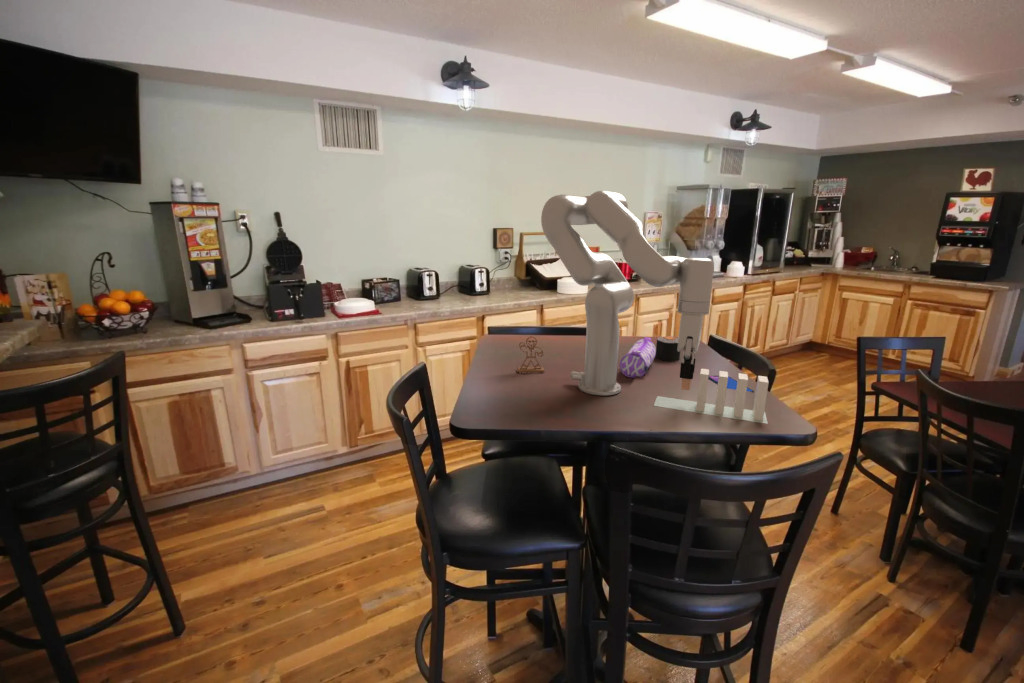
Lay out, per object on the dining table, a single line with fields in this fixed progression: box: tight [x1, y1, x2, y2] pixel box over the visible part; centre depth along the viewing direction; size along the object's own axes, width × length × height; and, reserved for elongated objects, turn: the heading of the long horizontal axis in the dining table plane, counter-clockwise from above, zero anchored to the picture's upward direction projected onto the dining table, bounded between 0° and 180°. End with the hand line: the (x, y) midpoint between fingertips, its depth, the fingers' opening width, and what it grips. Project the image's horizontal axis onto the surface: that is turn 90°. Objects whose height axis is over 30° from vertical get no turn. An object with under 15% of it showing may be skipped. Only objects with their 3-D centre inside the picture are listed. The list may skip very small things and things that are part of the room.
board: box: [653, 395, 769, 425], centre depth 122 cm, size 27×8×1 cm, turn 66°
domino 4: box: [733, 372, 749, 418], centre depth 118 cm, size 2×5×10 cm, turn 156°
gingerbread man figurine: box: [516, 336, 546, 373], centre depth 154 cm, size 9×4×12 cm, turn 95°
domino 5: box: [752, 375, 770, 421], centre depth 117 cm, size 2×5×10 cm, turn 156°
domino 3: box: [714, 370, 729, 414], centre depth 120 cm, size 2×5×10 cm, turn 156°
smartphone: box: [708, 375, 754, 393], centre depth 145 cm, size 7×1×15 cm
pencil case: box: [619, 337, 656, 379], centre depth 158 cm, size 22×9×10 cm, turn 156°
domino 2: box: [696, 368, 710, 411], centre depth 122 cm, size 2×5×10 cm, turn 156°
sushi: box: [655, 335, 681, 362], centre depth 173 cm, size 8×8×8 cm
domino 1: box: [680, 350, 693, 391], centre depth 122 cm, size 2×5×10 cm, turn 156°
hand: (687, 374), depth 123 cm, fingers closed on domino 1, 4 cm apart
